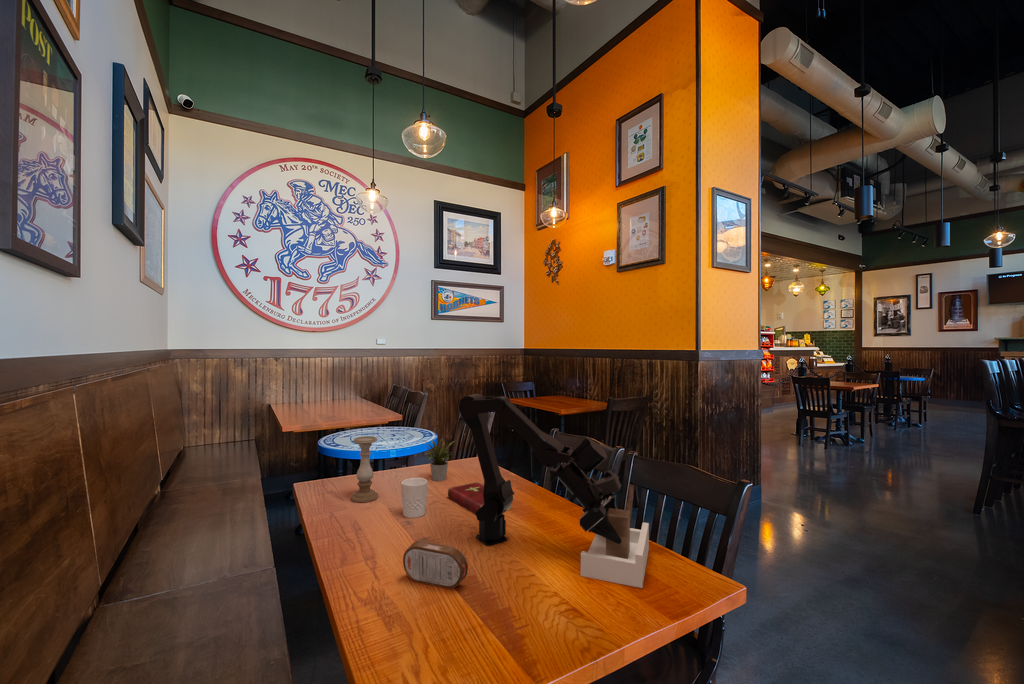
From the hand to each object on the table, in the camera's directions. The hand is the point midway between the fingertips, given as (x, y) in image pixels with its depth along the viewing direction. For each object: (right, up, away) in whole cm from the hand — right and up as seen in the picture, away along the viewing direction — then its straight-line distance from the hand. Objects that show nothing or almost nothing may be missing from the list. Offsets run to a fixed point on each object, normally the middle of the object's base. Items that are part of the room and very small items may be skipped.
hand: (623, 534), depth 106 cm
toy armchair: (-1, -7, 0) cm, 7 cm away
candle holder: (-77, -7, +43) cm, 88 cm away
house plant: (-57, -7, +65) cm, 86 cm away
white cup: (-57, -7, +30) cm, 65 cm away
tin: (-44, -7, -10) cm, 45 cm away
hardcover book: (-38, -7, +39) cm, 55 cm away
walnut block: (-1, -5, 0) cm, 5 cm away
